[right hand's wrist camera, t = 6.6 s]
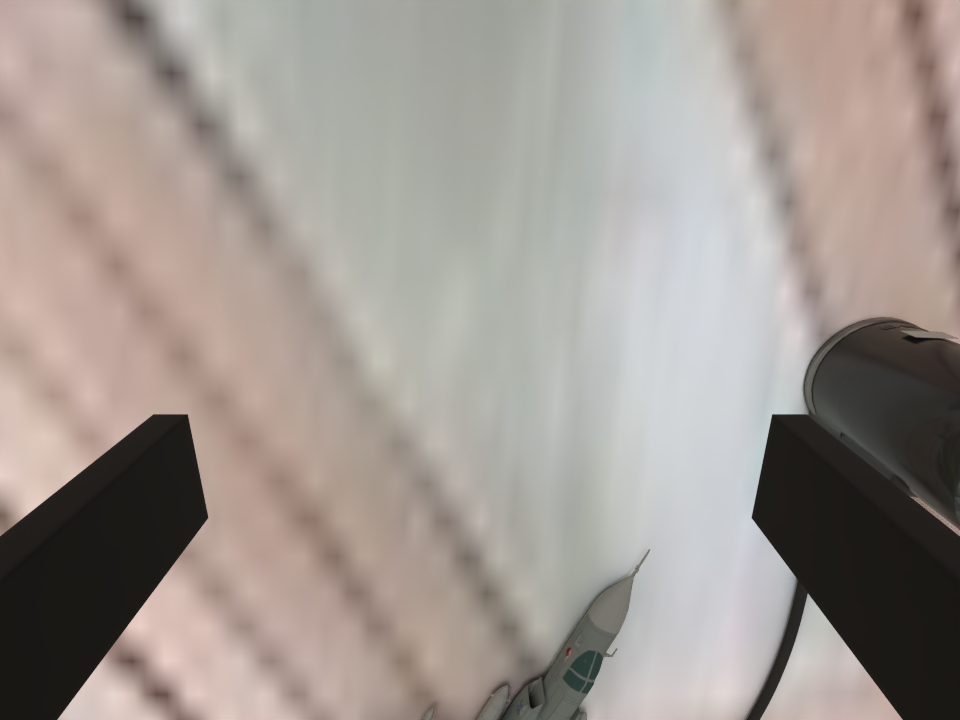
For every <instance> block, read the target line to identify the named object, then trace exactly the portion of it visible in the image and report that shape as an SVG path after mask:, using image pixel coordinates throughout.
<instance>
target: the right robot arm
mask: <svg viewBox="0 0 960 720" xmlns="http://www.w3.org/2000/svg"><path fill="white" fill-rule="evenodd" d="M207 519H208V514H207V509H206V504H205V499H204V494H203V489H202V484H201V479H200V474H199V469H198V464H197V459H196V454H195V449H194V444H193V439H192V434H191V429H190V424H189V419H188V415H152V416H151V417H150V418H148V419H147V420H146V421H145V422H143V423H142V424H141V425H140V426H138V427H137V428H136V429H135V430H133V431H132V432H131V433H130V434H128V435H127V436H126V437H125V438H123V439H122V440H121V441H120V442H118V443H117V444H116V445H115V446H113V447H112V448H111V449H110V450H108V451H107V452H106V453H105V454H103V455H102V456H101V457H99V458H98V459H97V460H96V461H94V462H93V463H92V464H91V465H89V466H88V467H87V468H86V469H84V470H83V471H82V472H81V473H79V474H78V475H77V476H76V477H74V478H73V479H72V480H71V481H69V482H68V483H67V484H66V485H64V486H63V487H62V488H61V489H59V490H58V491H57V492H56V493H54V494H53V495H52V496H50V497H49V498H48V499H47V500H45V501H44V502H43V503H42V504H40V505H39V506H38V507H37V508H35V509H34V510H33V511H32V512H30V513H29V514H28V515H27V516H25V517H24V518H23V519H22V520H20V521H19V522H18V523H17V524H15V525H14V526H13V527H12V528H10V529H9V530H8V531H6V532H5V533H4V534H3V535H1V536H0V720H57V719H58V718H59V717H60V715H61V714H62V713H63V711H64V710H65V709H66V707H67V706H68V705H69V703H70V702H71V701H72V699H73V698H74V697H75V695H76V694H77V693H78V691H79V690H80V689H81V687H82V686H83V685H84V683H85V682H86V681H87V679H88V678H89V677H90V675H91V674H92V672H93V671H94V670H95V668H96V667H97V666H98V664H99V663H100V662H101V660H102V659H103V658H104V656H105V655H106V654H107V652H108V651H109V650H110V648H111V647H112V646H113V644H114V643H115V642H116V640H117V639H118V638H119V636H120V635H121V634H122V632H123V631H124V630H125V628H126V627H127V626H128V624H129V623H130V622H131V620H132V619H133V618H134V616H135V615H136V614H137V612H138V611H139V610H140V608H141V607H142V606H143V604H144V603H145V602H146V600H147V599H148V598H149V596H150V595H151V594H152V592H153V591H154V590H155V588H156V587H157V586H158V584H159V583H160V582H161V580H162V579H163V578H164V576H165V575H166V574H167V572H168V571H169V570H170V568H171V567H172V566H173V564H174V563H175V562H176V560H177V559H178V558H179V556H180V555H181V554H182V552H183V551H184V550H185V548H186V547H187V546H188V544H189V543H190V542H191V540H192V539H193V538H194V536H195V535H196V534H197V532H198V531H199V530H200V528H201V527H202V526H203V524H204V523H205V522H206V520H207ZM752 519H753V520H754V522H755V523H756V524H757V526H758V527H759V528H760V530H761V531H762V532H763V534H764V535H765V536H766V538H767V539H768V540H769V542H770V543H771V544H772V546H773V547H774V548H775V550H776V551H777V552H778V554H779V555H780V556H781V558H782V559H783V560H784V562H785V563H786V564H787V566H788V567H789V568H790V570H791V571H792V572H793V574H794V575H795V576H796V578H797V579H798V580H799V582H800V583H801V584H802V586H803V587H804V588H805V590H806V591H807V592H808V594H809V595H810V596H811V598H812V599H813V600H814V602H815V603H816V604H817V606H818V607H819V608H820V610H821V611H822V612H823V614H824V615H825V616H826V618H827V619H828V620H829V622H830V623H831V624H832V626H833V627H834V628H835V630H836V631H837V632H838V634H839V635H840V636H841V638H842V639H843V640H844V642H845V643H846V644H847V646H848V647H849V648H850V650H851V651H852V652H853V654H854V655H855V656H856V658H857V659H858V660H859V662H860V663H861V664H862V666H863V667H864V668H865V670H866V671H867V672H868V674H869V675H870V677H871V678H872V679H873V681H874V682H875V683H876V685H877V686H878V687H879V689H880V690H881V691H882V693H883V694H884V695H885V697H886V698H887V699H888V701H889V702H890V703H891V705H892V706H893V707H894V709H895V710H896V711H897V713H898V714H899V715H900V717H901V718H902V719H903V720H960V536H959V535H957V534H956V533H955V532H954V531H952V530H951V529H950V528H948V527H947V526H946V525H945V524H943V523H942V522H941V521H940V520H938V519H937V518H936V517H935V516H933V515H932V514H931V513H930V512H928V511H927V510H926V509H925V508H923V507H922V506H921V505H920V504H918V503H917V502H916V501H915V500H913V499H912V498H911V497H910V496H908V495H907V494H906V493H904V492H903V491H902V490H901V489H899V488H898V487H897V486H896V485H894V484H893V483H892V482H891V481H889V480H888V479H887V478H886V477H884V476H883V475H882V474H881V473H879V472H878V471H877V470H876V469H874V468H873V467H872V466H871V465H869V464H868V463H867V462H866V461H864V460H863V459H862V458H861V457H859V456H858V455H857V454H855V453H854V452H853V451H852V450H850V449H849V448H848V447H847V446H845V445H844V444H843V443H842V442H840V441H839V440H838V439H837V438H835V437H834V436H833V435H832V434H830V433H829V432H828V431H827V430H825V429H824V428H823V427H822V426H820V425H819V424H818V423H817V422H815V421H814V420H813V419H812V418H810V417H809V416H808V415H772V419H771V424H770V429H769V434H768V439H767V444H766V449H765V454H764V459H763V464H762V469H761V474H760V479H759V484H758V489H757V494H756V499H755V504H754V509H753V514H752Z"/></svg>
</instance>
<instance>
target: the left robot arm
mask: <svg viewBox="0 0 960 720" xmlns="http://www.w3.org/2000/svg"><path fill="white" fill-rule="evenodd" d="M945 338H952V339H958V338H956V337H953V336H950V335H948V334H945V333H943V332H929V331H927V330H924V329H922V328H920V327H918V326H916V325H914V324H911V323H909V322H906V321H903V320H900V319H896V318H888V317H880V318H871V319H867V320H863V321H860V322H857V323H855V324H852V325H850V326H848V327H846V328H844V329H843V330H841V331H839V332H838V333H837V334H835V335H834V336H833V337H831V338H830V339H829V340H828V341H827V342H826V343H825V344H824V345H823V346H822V347H821V349H820V350H819V351H818V352H817V354H816V355H815V357H814V359H813V360H812V362H811V364H810V366H809V369H808V372H807V375H806V380H805V398H806V402H807V405H808V407H809V410H810V414H809V417H810V418H812V419H813V420H814V421H815V422H817V423H818V424H819V425H820V426H822V427H823V428H824V429H825V430H827V431H828V432H829V433H830V434H832V435H833V436H834V437H835V438H837V439H838V440H839V441H840V442H842V443H843V444H844V445H845V446H847V447H848V448H849V449H850V450H852V451H853V452H854V453H855V454H857V455H858V456H859V457H861V458H862V459H863V460H864V461H866V462H867V463H868V464H869V465H871V466H872V467H873V468H874V469H876V470H877V471H878V472H879V473H881V474H882V475H883V476H884V477H886V478H887V479H888V480H889V481H891V482H892V483H893V484H894V485H896V486H897V487H898V488H899V489H901V490H902V491H903V492H904V493H906V494H907V495H908V496H911V497H917V498H920V499H921V500H922V501H924V502H925V503H926V504H927V505H929V506H930V507H931V508H932V509H934V510H935V511H936V512H938V513H939V514H940V515H941V516H943V517H944V518H945V519H947V520H948V521H949V522H950V523H952V524H953V525H954V526H955V527H957V528H958V529H959V530H960V344H958V343H955V342H953V341H950V340H948V339H945ZM807 594H808V592H807V591H806V590H805V588H804V587H803V586H802V584H801V583H800V582H799V580H798V584H797V589H796V594H795V598H794V602H793V606H792V611H791V615H790V618H789V622H788V626H787V629H786V633H785V636H784V639H783V642H782V645H781V648H780V651H779V654H778V656H777V659H776V661H775V664H774V666H773V669H772V671H771V674H770V676H769V678H768V681H767V683H766V685H765V687H764V689H763V691H762V693H761V695H760V697H759V699H758V701H757V703H756V705H755V707H754V708H753V710H752V712H751V714H750V716H749V717H748V719H747V720H760V718H761V717H762V715H763V713H764V711H765V710H766V708H767V706H768V704H769V702H770V700H771V698H772V696H773V694H774V692H775V690H776V688H777V686H778V684H779V681H780V679H781V677H782V674H783V672H784V670H785V667H786V665H787V662H788V659H789V657H790V654H791V651H792V648H793V646H794V642H795V639H796V636H797V633H798V629H799V626H800V622H801V618H802V614H803V610H804V606H805V602H806V598H807Z"/></svg>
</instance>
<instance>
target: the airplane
mask: <svg viewBox="0 0 960 720" xmlns="http://www.w3.org/2000/svg"><path fill="white" fill-rule="evenodd" d="M649 551H650V549H649V550H648V552H647V553H646V555H645V556H644V558H643V559H642V561H641V562H640V564H639V565H638V566H637V568H636V567H635V569H636V570H635V571H634V572H633V574H632V575H631V576H629V577H628V578H626V579H624V580H622V581H620V582H618V583H617V584H615V585H613V586H611V587H610V588H608V589H607V590H605V591H604V592H603V593H602V594H601V595H600V596H599V597H598V598H597V599H596V600H595V601H594V603H593V604H592V606H591V607H590V609H589V610H588V611H587V613H586V614H585V616H584V617H583V619H582V620H581V622H580V623H579V625H578V626H577V628H576V629H575V631H574V632H573V634H572V636H571V637H570V639H569V640H568V642H567V643H566V645H565V646H564V648H563V649H562V651H561V653H560V654H559V656H558V657H557V659H556V661H555V662H554V664H553V665H552V667H551V669H550V670H549V672H548V673H547V675H546V677H545V679H544V680H543V682H542V677H540V678H539V679H538V680H536V681H534V682H531V683H529V684H527V685H526V687H525V688H524V689H523V690H522V691H521V692H520V693H519V694H518V695H517V696H516V698H515V699H514V701H513V702H512V704H511V705H510V707H509V709H508V710H507V712H506V713H505V715H504V716H503V718H502V720H587V714H586V712H581V713H580V710H579V705H580V704H581V702H582V701H583V699H584V698H585V697H586V695H587V694H588V692H589V691H590V689H591V688H592V686H593V684H594V681H595V678H596V676H597V675H598V673H599V670H600V667H601V664H602V660H603V658H604V657H613V655H614V654H615V652H616V650H617V649H616V650H615V651H614V653H613V654H612V655H609V654H607V653H606V652H607V650H608V648H609V646H610V645H611V643H612V642H613V640H614V639H615V637H616V636H617V634H618V633H619V631H620V629H621V627H622V624H623V622H624V620H625V617H626V614H627V612H628V608H629V602H630V595H631V589H632V583H633V578H634V576H635V574H636V572H637V571H639V567H640V566H641V564H642V563H643V561H644V560H645V558H646V556H647V555H648V553H649ZM508 695H509V687H508V685H505V686H502V687H501V688H499V689H498V690H497V691H496V692H495V693H494V694H491V695H490V696H491V698H490V699H489V701H488V702H487V704H486V705H485V707H484V708H483V709H482V711H481V712H480V714H479V716H478V718H477V719H476V720H499V718H500V716H501V714H502V712H503V710H504V708H505V705H506V703H507V702H509V703H510V701H511V700H510V699H508ZM433 713H434V711H433V708H432V709H430V710H429V711H428V712H427V713H426V714H425V716H424V717H423V719H422V720H431V719H432V716H433Z"/></svg>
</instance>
